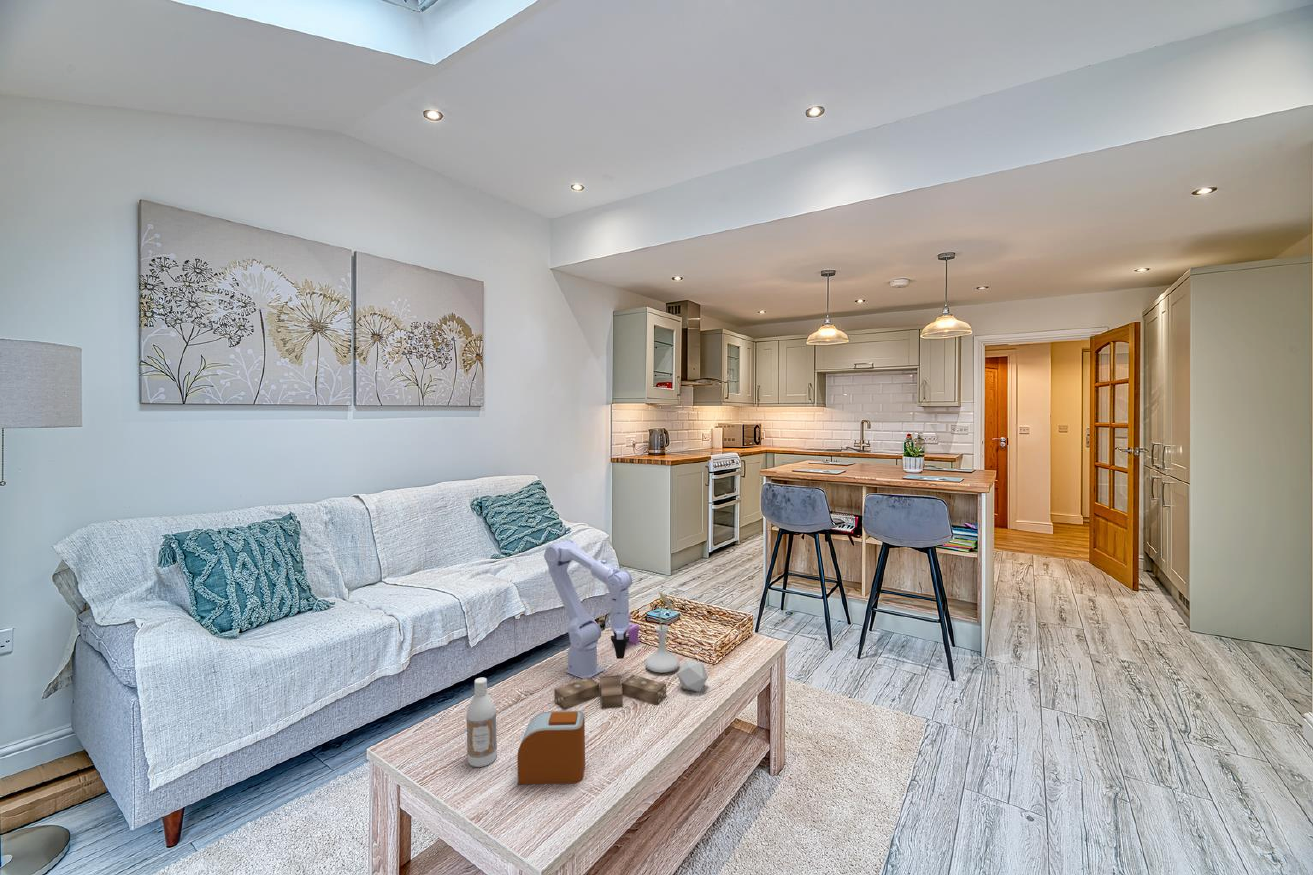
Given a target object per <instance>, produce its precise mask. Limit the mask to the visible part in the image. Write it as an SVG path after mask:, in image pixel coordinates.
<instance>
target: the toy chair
mask: <svg viewBox="0 0 1313 875" xmlns="http://www.w3.org/2000/svg"><path fill="white" fill-rule="evenodd" d="M631 619H632V614H631V612H629V623H633V626H632V627H629V628H628V629H627V632H626V635H625V636H629V641H628V642H630V643H633V644H636V645H640V640H639V633H640V632H639V631H640V626H639V624H637V623H634V622H630V621H631ZM611 648H612V649H615V648H614V645H613V644H612V645H611Z"/></svg>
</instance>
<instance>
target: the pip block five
mask: <svg viewBox="0 0 1313 875" xmlns="http://www.w3.org/2000/svg"><path fill="white" fill-rule="evenodd" d="M621 688H622V694H623V696H624V697H628V698H631V699H635V700H637V701H642V702H644V703H646V704H647V703H648V704H651V705H655V706H657V705H658V704H660V703H661V701H662V700H664V699H665V698H666V697H667V683H665V682H660V681H657V680H653V679H650V678H646V677H643V676H638V675H634V674H632V675H630V676H629V677H628V678H626V679H625V680H623V682H621Z"/></svg>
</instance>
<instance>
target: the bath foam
mask: <svg viewBox="0 0 1313 875" xmlns="http://www.w3.org/2000/svg"><path fill="white" fill-rule="evenodd" d="M473 682H474V696H473V698H472V699H471V700H470V702H469V704H468V706H467V710H466V750H467V752H466V753H467V754H466V755H467V763H468V764H469V765H470V766H471V767H473V768H474V767H475V768H481V767H486V766H488V765H490V764H492V763H493V762H494V761H495V760H496V758H497V755H498V754H497V753H498V744H497V734H498V733H497V710H496V709H497V708H496V704H495V701H494V700H493V698H492V697H491V696H490V694H488V679H487V678H486V677H481V676H480V677H478V678H475V680H474V681H473Z"/></svg>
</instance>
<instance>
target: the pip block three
mask: <svg viewBox="0 0 1313 875" xmlns="http://www.w3.org/2000/svg"><path fill="white" fill-rule="evenodd" d="M553 693H554V694H553V695H554V697H553V698H554V699H553V700H554V703H555V704H557V705H558V706H559V707H561V708H562V709H563V711H567V709H568V710H569V709H571V708H573V707H575V706H577V705H578V706H579V705H581V704H584V703H585V702H589V701H591V700H592V699H595V698H598V697H601V693H600V682H599V683H598V682H597V681H596V680H594V679H593V678H592V677H591V678H590V677H587V678H584V679H582V678H580V679H579V680H576V681H573V682H571V683H568V684H566V685H563V686H560V687H557V688H554V692H553Z"/></svg>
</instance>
